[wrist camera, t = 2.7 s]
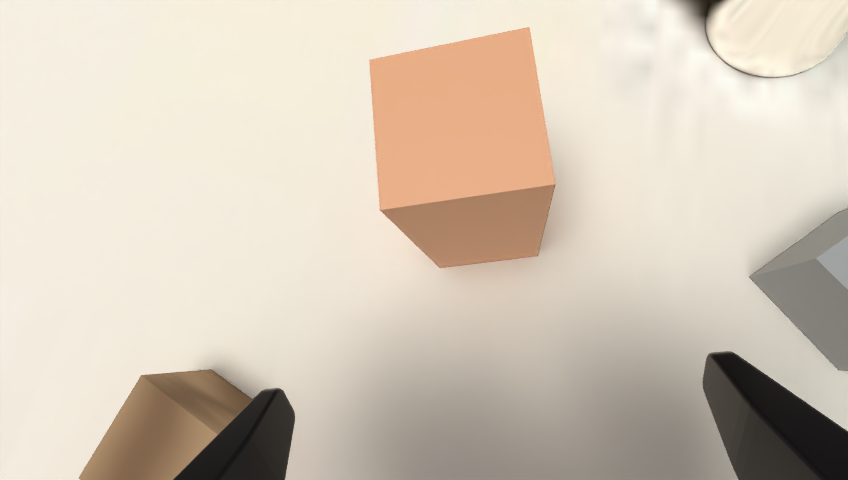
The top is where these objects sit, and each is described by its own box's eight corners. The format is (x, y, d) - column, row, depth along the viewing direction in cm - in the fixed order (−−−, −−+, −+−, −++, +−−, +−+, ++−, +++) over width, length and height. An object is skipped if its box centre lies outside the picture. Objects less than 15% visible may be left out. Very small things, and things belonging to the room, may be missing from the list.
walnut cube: (281, 419, 24) (223, 438, 19) (231, 508, 24) (158, 550, 19) (212, 369, 25) (141, 375, 21) (162, 451, 25) (78, 477, 20)
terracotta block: (537, 255, 23) (555, 184, 13) (439, 267, 24) (379, 210, 13) (523, 163, 24) (529, 27, 14) (430, 177, 25) (369, 59, 15)
